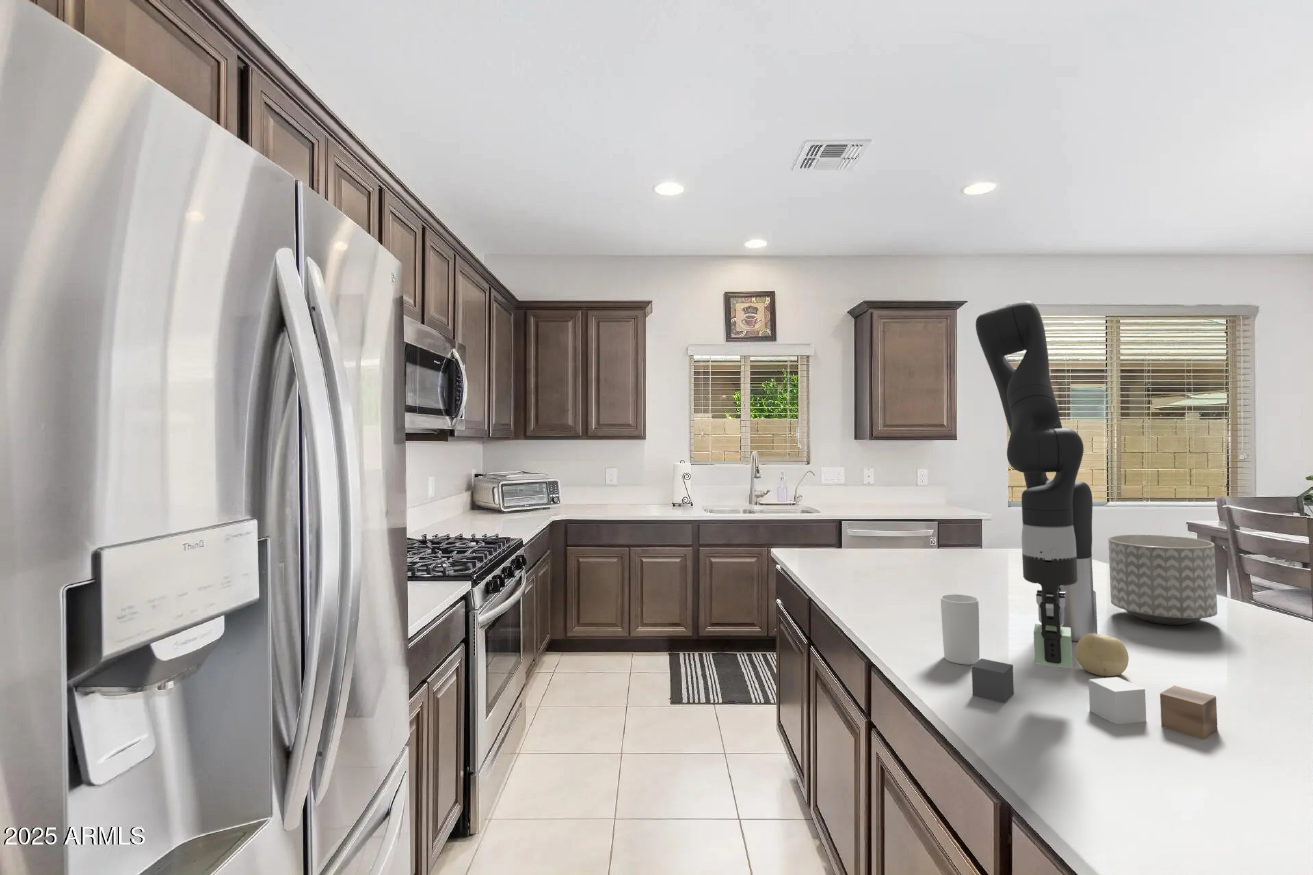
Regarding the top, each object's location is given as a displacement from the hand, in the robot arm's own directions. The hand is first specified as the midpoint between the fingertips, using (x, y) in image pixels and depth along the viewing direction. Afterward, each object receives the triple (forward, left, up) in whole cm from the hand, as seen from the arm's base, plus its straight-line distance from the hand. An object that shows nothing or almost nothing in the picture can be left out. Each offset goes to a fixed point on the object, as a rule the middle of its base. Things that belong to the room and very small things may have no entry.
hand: (1053, 656), depth 103 cm
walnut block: (-9, +14, -8) cm, 18 cm away
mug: (-5, -23, -8) cm, 25 cm away
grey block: (-4, +7, -8) cm, 11 cm away
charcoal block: (+5, -7, -8) cm, 12 cm away
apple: (-20, -6, -8) cm, 22 cm away
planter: (-63, -21, -8) cm, 67 cm away
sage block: (0, 0, -1) cm, 1 cm away
